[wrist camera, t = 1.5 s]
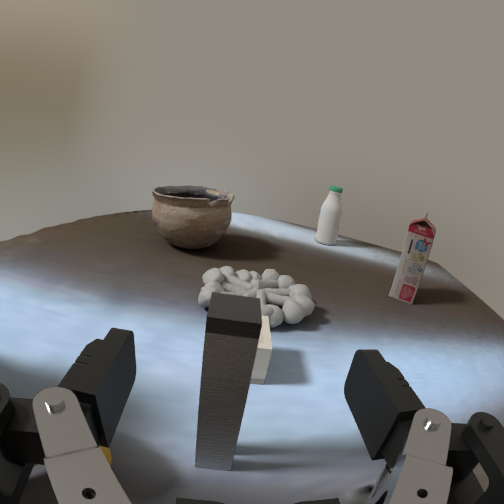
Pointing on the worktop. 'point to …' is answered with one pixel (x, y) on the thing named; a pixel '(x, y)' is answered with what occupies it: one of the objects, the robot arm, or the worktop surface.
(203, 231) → the ceramic bowl
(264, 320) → the open box
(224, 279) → the campfire
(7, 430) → the robot arm
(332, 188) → the milk bottle
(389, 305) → the worktop surface
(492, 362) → the worktop surface
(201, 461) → the grey long square block
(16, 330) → the worktop surface
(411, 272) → the juice carton
